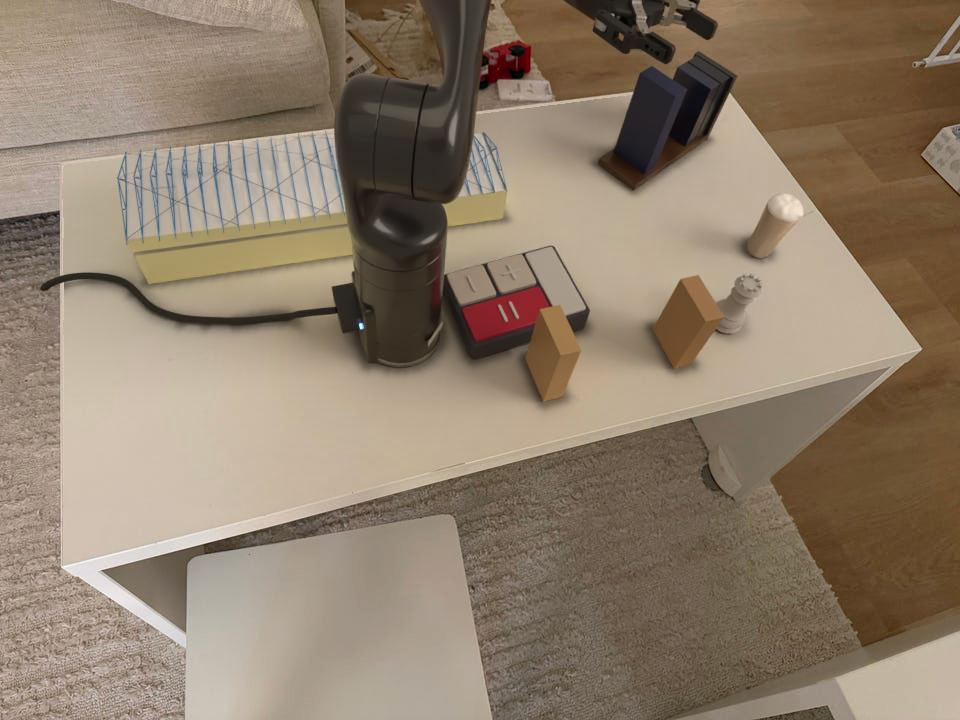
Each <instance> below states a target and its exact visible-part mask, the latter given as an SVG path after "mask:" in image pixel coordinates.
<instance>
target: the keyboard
mask: <svg viewBox="0 0 960 720" xmlns="http://www.w3.org/2000/svg"><path fill="white" fill-rule="evenodd" d="M324 132H325V133H319V134H313V132H311V133H310V134H308V135H301V134H300V133H297V135H298V136H291V137H290V136H289V137H286V135H285V134H284V137H280V138H270V139H263V140H251V141H244V139H242V142H233V143H231V142H230V140H227V142H226V143H223V144H220V143H217V144H216V142H215V141H214V142H213V145H205V146H201V143H199V144H198V145H199V146H194V147H187V145H186V144H184V148H176V149H175V148H173V149H172V146H170V147H169V149H166V150H165V149H164V150H157V147H156V148H155V149H154V151H146V152H142V149H140V150H139V152H137V153H135V152H134V153H128V151H125V152H124V156H123V158H122V161H121V165H120V168H119V170H118V174H117V177H116V179H117V186H118V193H119V201H120V208H121V216H122V221H123V229H124V230H123V231H124V237H125V242H126V243H125V244H126V246H128V248H129V249H130V251H131V253H132V254H133V257H134V259H135V261H136V263H137V265H138V267H139V268H140V271H141V272H142V274H143V277H145V280H146V282H147V283H148V285H151V284H158V283H159V284H160V283H166V282H172V281H180V280H186V279H193V278H199V277H207V276H214V275H221V274H222V275H223V274H227V273H228V274H230V273H234V272H235V273H236V272H242V271H249V270H255V269H262V268H269V267H276V266H284V265H290V264H296V263H305V262H310V261H317V260H324V259H325V260H327V259H331V258H332V259H333V258H339V257H345V256H353V252H352V243H351V234H350V232H349V229H348V225H347V218H346V211H345V205H344V199H343V194H342V188H341V183H340V178H339V173H338V167H337V161H336V153H335V138H334V132H328V133H327V131H326V130H325V131H324ZM488 140H489V141H488ZM491 144H492V146H493V148H492V146H491ZM494 151H495V152H496V159H497V160H496V159H495V157H494V154H493V152H494ZM123 166H124V167H123ZM503 171H504V170H503V168H502V163H501V158H500V154H499V151H498V146H496V144H495V143H494V142H493V141H492V140H491V139H490V137H489V136H488V135H487V134H486V132H485V131H482V132H476V133H475V132H474V136H473V144H472V151H471V157H470V163H469V168H468V172H467V176H466V179H465V182H464V185H463V188H462V190H461V192H460V194H459V195H458V197H457V198H456V199H455V200H454V201H452V202H450V203H448V204H442V205H443V207H444V209H445V211H446V215H447V220H448V227H454V226H462V225H469V224H476V223H477V224H478V223H483V222H490V221H498V220H503V218H504V213H505V207H506V201H507V197H508V188H507V183H506V179H505V175H504V172H503ZM121 173H123V177H124V178H121ZM120 181H122V182H124V184H125V185H124V186H125V187H124V189H125V190H124V194H125V195H124V194H123V190H122V186H121V183H120ZM124 196H125V197H124ZM123 206H124V207H123ZM124 211H125V216H124Z"/></svg>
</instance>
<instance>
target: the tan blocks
mask: <svg viewBox="0 0 960 720" xmlns="http://www.w3.org/2000/svg"><path fill="white" fill-rule="evenodd" d="M723 318H724V316H723V314H722V312H721V311H720V309H719V308H718V306H717V304H716V301H715V299H714V298H713V296H712V294H711V293H710V291H709V289H708V288H707V286H706V285H705V283H704V281H703V280H702V278H701V276H700V274H697V275H693V276H692V275H691V276H687V277H683V278H680V279H679V281H678V282H677V284H676V286H675V287H674V289H673V292H672V293H671V295H670V297H669V298H668V301H667V302H666V304H665V306H664V308H663V309H662V311H661V313H660V315H659V317H658V318H657V320H656V322H655V324H654V325H653V327H652V331H653V333H654V335H655V337H656V338H657V340H658V342H659V343H660V346H661V348H662V350H663V351H664V353H665V356H666V357H667V359H668V361H669V363H670V364H671V367H672V368H673V369H674V370H675V369H678V368H682V367H687V366H691V365H692V364H693V362H694V361H695V359H696V358H697V357H698V355H699V354H700V352H701V351H702V349H704V347H705V345H707V342H708V341H709V339H710V338H711V336H712V335H713V334H714V332H715V331H716V328H717V327H718V325H719V324H720V322H721V321H722V319H723ZM528 344H529V345H528V348H527V352H526V355H525V357H524V358H525V361H526V364H527V366H528V369H529V371H530V374H531V376H532V379H533V380H534V383H535V385H536V388H537V390H538V393H539V396H540V397H541V400H542V402H547V401H551V400H556V399H559V398H562V397H563V396H564V394H565V391H566V389H567V387H568V383H569V381H570V379H571V376H572V374H573V372H574V369H575V368H576V365H577V363H578V360H579V358H580V355H581V352H582V349H581V346H580V344H579V342H578V340H577V338H576V336H575V334H574V332H573V331H572V329H571V327H570V325H569V323H568V320H567V318H566V316H565V314H564V312H563V310H562V308H561V305H557V306H552V307H548V308H543V309H540V310H539V313H538V317H537V320H536V324H535V327H534V331H533V334H532V338H531V341H530V343H528Z"/></svg>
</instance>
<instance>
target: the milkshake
mask: <svg viewBox="0 0 960 720" xmlns="http://www.w3.org/2000/svg"><path fill="white" fill-rule="evenodd" d="M804 213H805V212H804V206H803V204H802V203H801V201H800V200H799V199H797V197H795V196H794V195H792V194H790V193H784V192H783V193H776V194H774V195H773V196H771V197H770V198H769V199H768V200H767V203H766V204H765V207H764V209H763V211H762V213H761V215H760V218H759V220H758V221H757V224H756V226H755V228H754V230H753V232H752V234H751V235H750V237H749V239H748V241H747V243H746V245H745V248H746V251H747V253H748V254H750V255H751V256H752V257H753V258H757V259H765V258H768V256H769V255H770V254H771V253H772V252H773V251H774V249H775V248H776V247H777V246H778V245H779V243H780V242H781V241H782V240H783V239H784V237H785V236H786V235H788V233H789V232H790V231H791V230H792V229H793V227H794V226H795V225H796V224H797V223H798V222H799V221H800V220H801V219H802V218H804V217H806V216H807V215H809V214H812V213H814V210H813V211H810V212H808V213H807V214H804Z"/></svg>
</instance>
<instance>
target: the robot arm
mask: <svg viewBox="0 0 960 720" xmlns="http://www.w3.org/2000/svg"><path fill="white" fill-rule="evenodd" d="M418 2H419V3H420V6H421V7H422V10H423V12H424V14H425V16H426V19H427V21H428V22H429V23H428V24H429V26H430V29H431V33H432V35H433V39H434V40H435V45H436V47H437V51H438V55H439V60H440V61H439V62H440V65H441V73H442V79H441V81H440V82H439V83H437V84H434V83H429V82H423V81H418V80H411V79H405V78H399V77H392V76H387V75H382V74H376V73H368V72H365V73H364V72H362V73H356V74H354V75H352V76H351V77H350V78H349V79H348V80H347V81H346V82H345V83H344V85H343V87H342V89H341V91H340V94H339V96H338V98H337V103H336V107H335V113H334V123H333V124H334V126H333V133H334V138H335V153H336V161H337V167H338V173H339V178H340V183H341V188H342V194H343V199H344V205H345V211H346V218H347V225H348V229H349V232H350V234H351V243H352V252H353V255H352V261H353V270H352V271H351V275H350V276H351V282H348V283H342V284H336V285H333V286H331V292H332V299H333V302H334V303H333V304H334V306H328V307H327V306H326V307H318V308H317V307H316V308H309V309H301V310H295V311H293V312H292V311H291V312H286V313H275V314H267V315H258V316H257V315H256V316H255V315H254V316H241V317H240V316H239V317H237V316H236V317H232V316H231V317H229V316H228V317H224V316H203V315H199V316H198V315H190V314H189V315H188V314H182V313H177V312H174V311H170V310H167V309H164V308H162V307H160V306H157V305H156V304H154V303H153V302H151V301H150V300H149V299H148V298H147V297H146V296H145V295H144V293H142V291H141V290H139V288H138V287H137V286H135V284H133V283H132V282H131V281H130V280H128V279H126V278H124V277H122V276H118V275H115V274H111V273H104V272H90V271H89V272H87V271H86V272H85V271H83V272H73V273H67V274H62V275H58V276H55V277H53V278H50V279H49V280H47V281H45V282H44V283H43V284H42V285H41V286H40V287H39V291H41V292H47V291H49V290H51V288H53V287H54V286H57V285H60V284H62V283H66V282H73V281H80V280H82V281H83V280H94V281H95V280H97V281H106V282H110V283H111V282H112V283H116V284H118V285H121V286H123V287H124V288H126V289H127V290H128V291H129V292H131V294H132V295H133V296H134V297H135V298H136V299H137V300H138V301H139V302H140V303H141V304H142V305H143V306H144V307H145V308H146V309H148V310H149V311H151V312H152V313H154V314H155V315H158V316H161V317H163V318H166V319H170V320H174V321H177V322H182V323H190V324H203V325H253V324H254V325H255V324H264V323H271V322H282V321H290V320H295V319H300V318H308V317H318V316H328V315H329V316H330V315H337V318H338V321H339V326H340V330H341V333H342V334H347V333H352V332H357V331H358V332H359V339H360V343H361V345H362V347H363V351H364V354H365V358H366V362H367V363H368V364H373V363H379V364H382V365H385V366H386V367H387V366H388V367H393V368H408V367H413V366H416V365H418V364H421V363H423V362H425V361H426V360H427V359H429V358H430V357H431V356H432V355H433V354H435V351H436V350H437V349H438V346H439V344H440V340H441V332H442V331H441V329H442V328H443V325H444V321H443V320H442V308H443V307H442V306H443V297H444V295H443V283H444V275H445V267H446V255H447V245H448V244H447V243H448V232H449V231H448V229H449V226H448V220H447V215H446V211H445V209H444V207H443V205H442V204H448V203H450V202H452V201H454V200H455V199H456V198H457V197H458V195H459V194H460V192H461V190H462V188H463V185H464V182H465V179H466V176H467V172H468V168H469V163H470V157H471V151H472V144H473V136H474V133H475V128H476V127H475V126H476V119H477V109H478V100H479V92H480V84H481V83H480V82H481V74H482V66H483V56H484V50H485V49H484V48H485V42H486V33H487V27H488V21H489V15H490V10H491V5H492V0H418ZM563 2H565V3H566V4H567V5H569V6H571V7H572V8H574V9H575V10H577V11H578V12H580V13H581V14H583V15H584V16H586V17H587V18H588V19H591V20H592V21H594V23H593V27H592V33H594V34H595V35H597V37H599V38H600V39H602V40H604V41H605V42H606V43H607V44H608V45H610V46H612V47H613V48H614V49H616V50H617V51H618V52H620V53H622V54H623V55H628V54H630V53H631V51H632V50H634V51H636V52H644V53H645V54H647V55H648V56H651V57H652V58H653V59H655V60H656V61H658V62H660V63H662V64H663V65H668V64H670V63H671V62H672V61H673V59H674V57H675V53H676V50H677V47H676V46H675V45H674V44H673V43H672V42H671V41H668V40H667V39H666V38H664V37H662V36H661V35H659V34H658V33H656V32H655V31H650V28H652V27H656V26H657V25H659V26H663V27H669V26H671V25H673V24H674V25H680V26H684V27H685V28H686V29H687V30H689V31H691V32H692V33H693V34H696V35H697V36H698V37H701V38H702V39H704V40H705V41H709V40H711V39H713V38H714V36H715V35H716V31H717V30H718V26H719V23H718V21H717V20H715V19H714V18H712V17H710V16H709V15H707V14H705V13H704V12H702V11H700V10H699V9H698V6H699V4H700V2H701V0H563ZM666 8H667V11H666V14H665V15H664V13H665V10H666ZM675 13H677V14H675ZM678 14H679V15H678ZM620 35H622V36H623V38H622V40H621V38H620ZM441 320H442V321H441Z"/></svg>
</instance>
